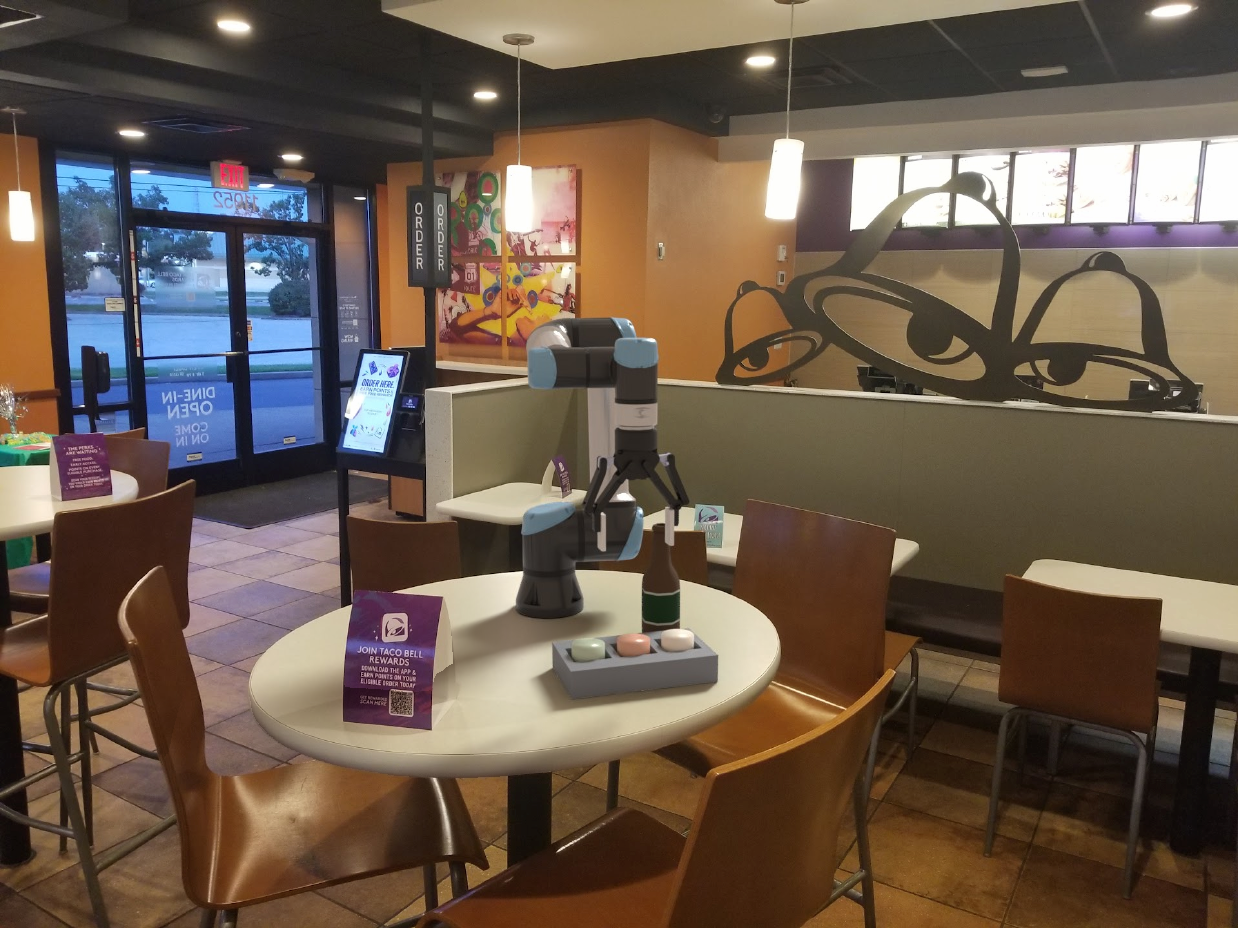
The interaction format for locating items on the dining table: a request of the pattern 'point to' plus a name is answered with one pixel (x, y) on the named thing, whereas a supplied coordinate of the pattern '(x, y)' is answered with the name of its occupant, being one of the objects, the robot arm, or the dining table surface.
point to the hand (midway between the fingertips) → (635, 546)
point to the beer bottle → (660, 587)
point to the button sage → (588, 649)
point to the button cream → (677, 640)
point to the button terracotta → (633, 645)
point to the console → (634, 668)
